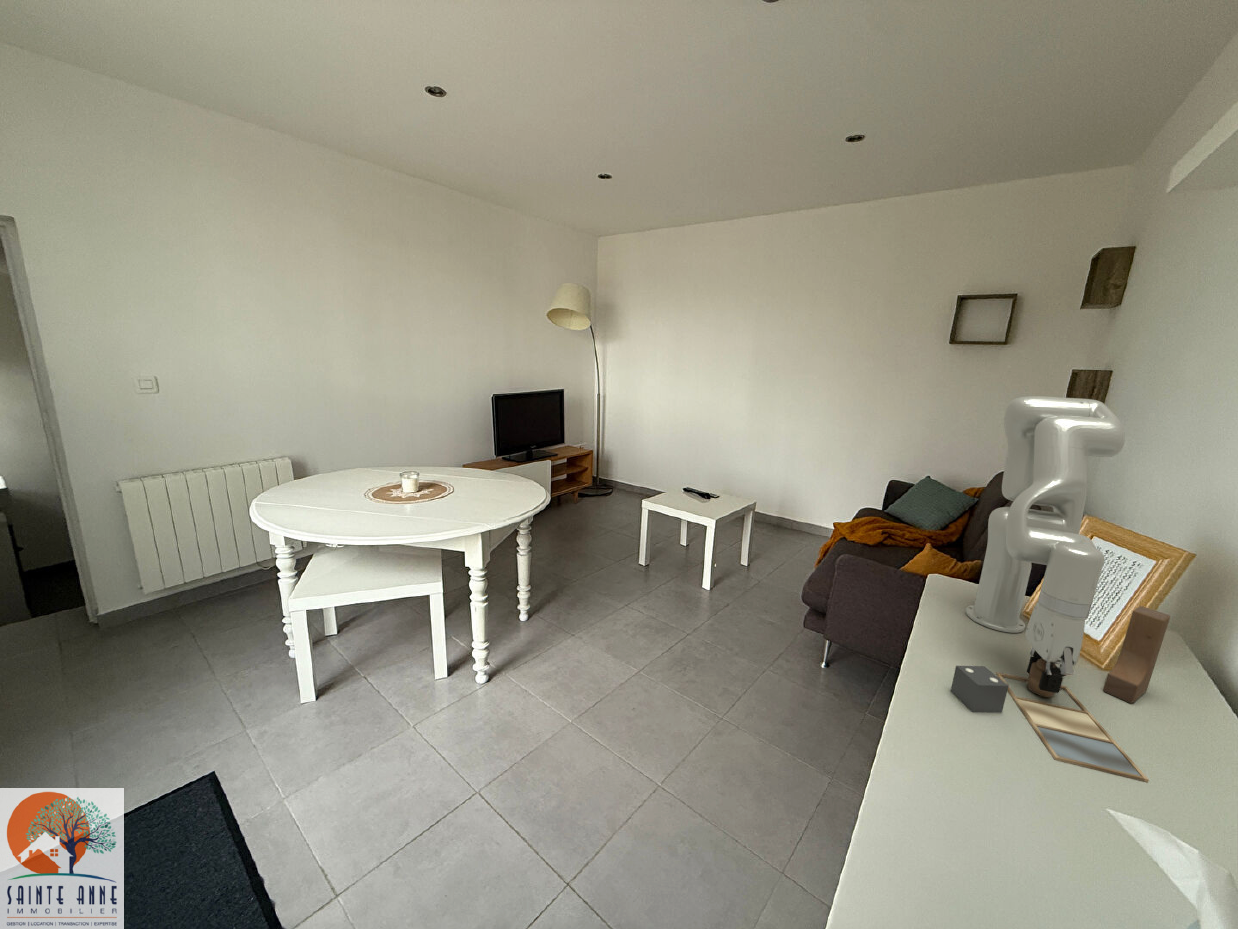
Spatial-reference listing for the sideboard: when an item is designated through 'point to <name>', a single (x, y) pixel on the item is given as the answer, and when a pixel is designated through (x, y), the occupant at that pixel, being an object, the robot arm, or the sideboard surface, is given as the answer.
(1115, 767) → the board
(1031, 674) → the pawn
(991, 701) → the die
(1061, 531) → the robot arm
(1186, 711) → the sideboard surface
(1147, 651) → the wooden block
